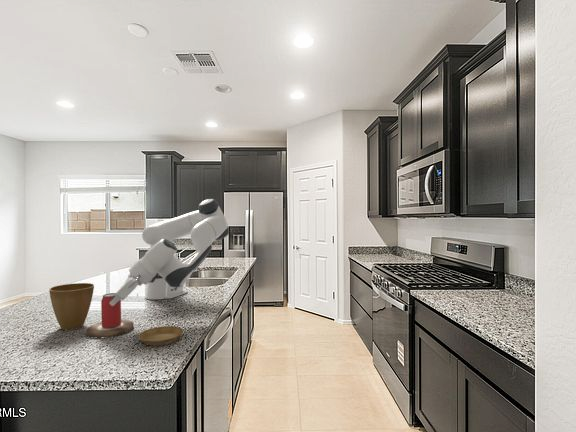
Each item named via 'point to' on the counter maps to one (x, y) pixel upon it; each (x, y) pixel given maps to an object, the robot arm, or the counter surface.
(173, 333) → the plant saucer
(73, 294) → the plant pot
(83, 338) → the counter surface
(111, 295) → the beer can
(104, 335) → the disc
